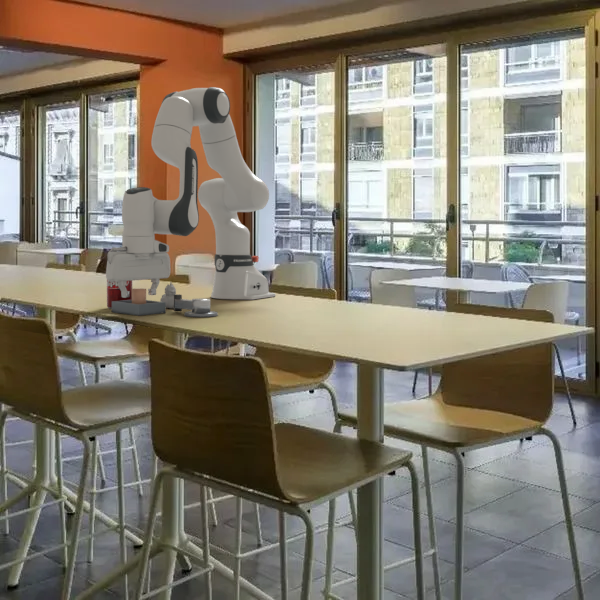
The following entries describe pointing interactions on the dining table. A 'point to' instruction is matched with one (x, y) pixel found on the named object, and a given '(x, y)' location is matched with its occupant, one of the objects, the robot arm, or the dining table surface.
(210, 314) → the base
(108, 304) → the soda can
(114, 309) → the tray
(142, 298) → the pink upright block
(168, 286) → the grey figurine
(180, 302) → the crank
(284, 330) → the dining table surface
